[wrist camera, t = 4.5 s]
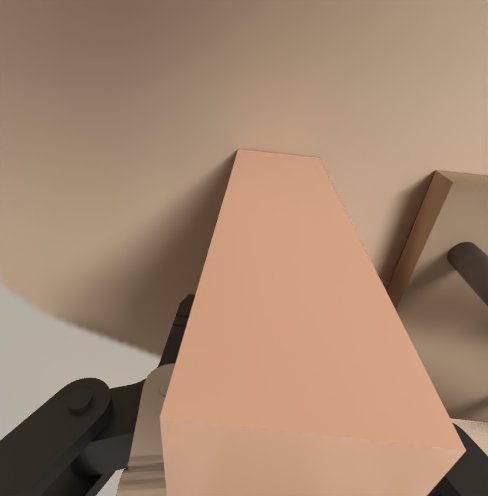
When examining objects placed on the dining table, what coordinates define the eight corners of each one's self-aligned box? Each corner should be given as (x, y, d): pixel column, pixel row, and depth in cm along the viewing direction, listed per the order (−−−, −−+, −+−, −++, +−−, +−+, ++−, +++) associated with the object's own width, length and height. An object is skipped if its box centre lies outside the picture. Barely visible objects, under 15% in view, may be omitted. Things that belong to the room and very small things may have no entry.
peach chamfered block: (238, 149, 11) (159, 417, 3) (319, 157, 11) (465, 450, 3) (223, 347, 16) (180, 641, 8) (277, 353, 16) (289, 653, 8)
